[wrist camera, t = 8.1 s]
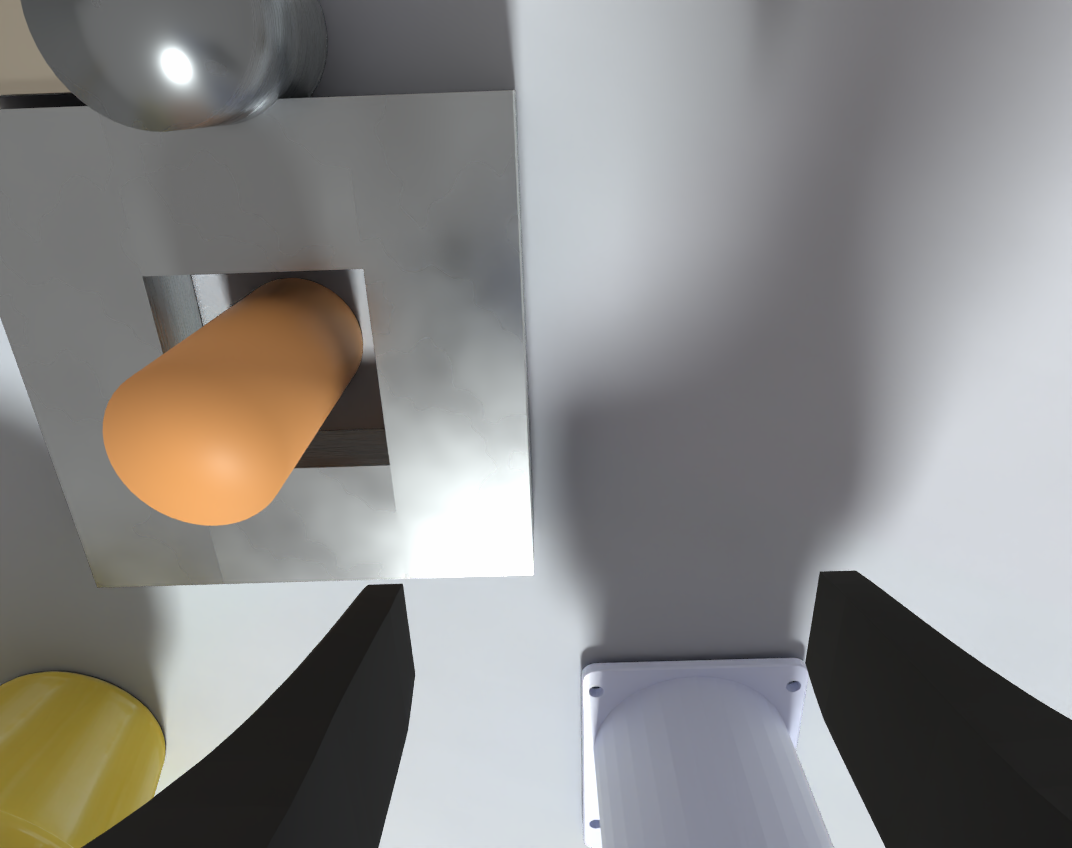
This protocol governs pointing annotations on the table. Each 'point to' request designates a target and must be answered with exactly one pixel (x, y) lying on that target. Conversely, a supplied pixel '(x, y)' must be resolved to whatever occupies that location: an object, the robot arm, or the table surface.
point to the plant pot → (72, 759)
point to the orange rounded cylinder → (234, 404)
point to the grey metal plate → (266, 246)
